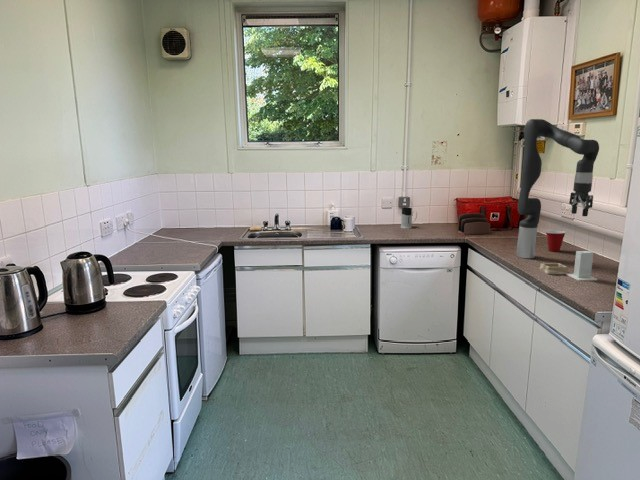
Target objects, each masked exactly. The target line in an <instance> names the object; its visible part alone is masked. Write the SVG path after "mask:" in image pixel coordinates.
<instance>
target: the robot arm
mask: <svg viewBox="0 0 640 480" xmlns="http://www.w3.org/2000/svg"><path fill="white" fill-rule="evenodd" d="M523 130H524V131H523V134H524V135H523V137H524V138H523V139H524V145H523V146H524V148H523V162H522V171H521V183H520V191H519V196H518V201H517V212H518V214H519V215H522V216H524V215H525V216H528V217H526V218H524V219H522V220H520V221H519V227H518V238H517V244H516V254H515V255H516V257H517V258H521V259H534V258H535V256H536V246H537V237H538V234H537V233H538V227H539V226H538V225H539V222H540V216H541V211H542V202H541V199H539V198H537V197H529V196H530V193H531V189H532V188H533V186H534V185H535V184H536V183H537V181H538V179H539V178H540V177H541V172H542V163H543V162H542V157H541V155H540V153H539V150H538V145H537V140H538V138H541V137H543V138H548V139H551V140H553V141H555V143H557V144H559V145H560V146H561V147H564V148H567V149H569V150H570V151H572V152H574V153H575V154H577V155H580V156H582V155H583V156H582V158H581V159H579V160H578V161H577V162H576V168H575V175H574V178H573V179H574V181H573V191H571V193H570V196H569V205H571V212H570V213H571V214H573V215H576V214H577V211H578V206H579V204H580V205H582V212H581V213H582V217H588V215H589V209H592V208H593V206H594V205H593V200H594V195H592V194H589V193H591V192H592V187H593V185H592V184H593V179H594V178H593V177H594V175H593V174H594V164H595V162H596V160H597V158H598V154H599V151H600V144H599V142H598V141H597V140H595V139H584V138H581V137H580V136H579V135H578V134H576V133H572V132H570V131H567V130H564V129H562V128H559V127H557V126H555V125H553V124H552V123H551V122H549V121H547V120H546V119H541V118H540V119H539V118H531V119H529V120H527V121H526V123H525V125H524V129H523Z"/></svg>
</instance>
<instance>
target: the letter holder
mask: <svg viewBox="0 0 640 480" xmlns="http://www.w3.org/2000/svg"><path fill="white" fill-rule="evenodd" d="M457 233H458V234H462V235H464V236H466V235H467V236H468V235H488V234H491V223H490V222H488V219H487V218H485V214H484V213H481V212H469V213H461V214H459V215H458V225H457Z"/></svg>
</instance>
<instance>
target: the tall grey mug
mask: <svg viewBox="0 0 640 480" xmlns="http://www.w3.org/2000/svg"><path fill="white" fill-rule="evenodd" d="M414 212H415V214H416V215H415V216H416V217H415V218H414V220H413V219H412V217H413V216H414ZM400 216H401V218H400V220H401V222H400V228H401V229H412V226H413V225H412V224H413V223H414V222H415V221H416V220H417V219H418V218H417V217H418V212H417V211H416V210H413V208H412V207H402V208H401V215H400ZM412 220H413V221H412Z"/></svg>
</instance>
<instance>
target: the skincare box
mask: <svg viewBox="0 0 640 480" xmlns="http://www.w3.org/2000/svg"><path fill="white" fill-rule="evenodd" d="M574 258H575V260H574V268H573V269H574V270H573V273H574V276H576V277H591V276H592V268H593V259H594V252H593V251H589V250H576V251H575V257H574Z"/></svg>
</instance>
